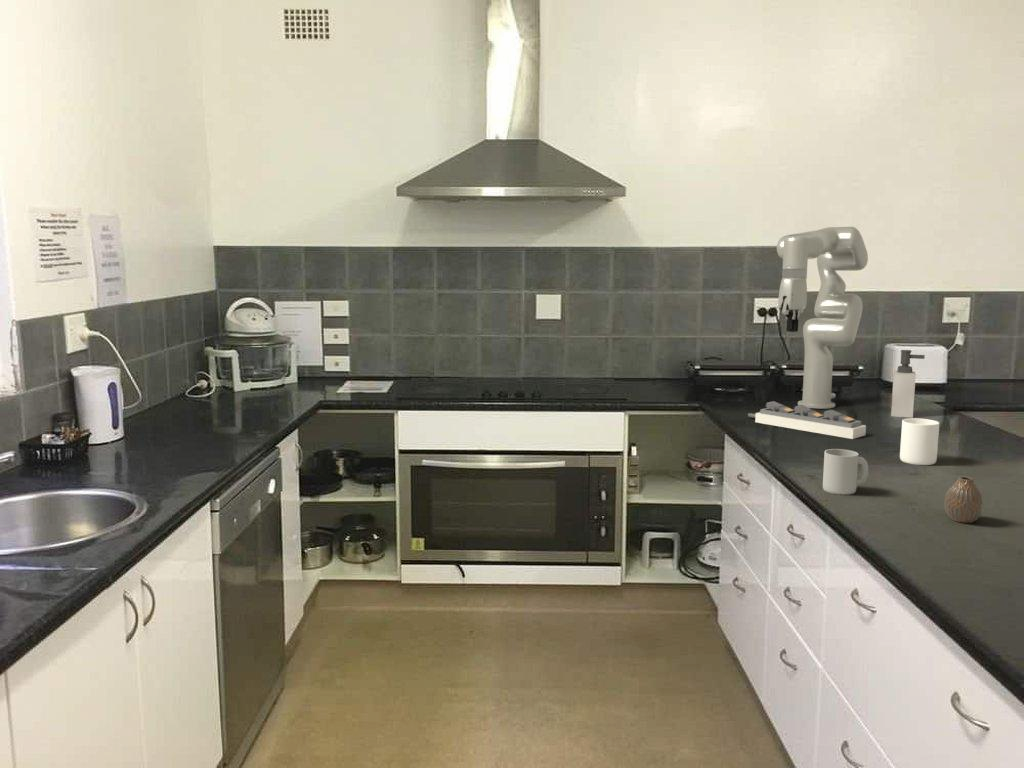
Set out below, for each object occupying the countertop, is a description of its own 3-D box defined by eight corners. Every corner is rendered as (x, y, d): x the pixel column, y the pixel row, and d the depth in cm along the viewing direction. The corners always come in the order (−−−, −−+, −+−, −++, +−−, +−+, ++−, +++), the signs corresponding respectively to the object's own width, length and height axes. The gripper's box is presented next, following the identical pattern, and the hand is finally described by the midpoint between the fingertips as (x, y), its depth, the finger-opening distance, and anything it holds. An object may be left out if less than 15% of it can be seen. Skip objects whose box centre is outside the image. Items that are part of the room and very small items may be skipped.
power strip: (755, 416, 268) (755, 404, 267) (865, 435, 239) (866, 421, 238) (742, 419, 263) (742, 407, 262) (852, 439, 234) (853, 424, 233)
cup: (817, 486, 186) (819, 449, 185) (860, 485, 186) (862, 448, 185) (829, 495, 179) (831, 456, 178) (874, 494, 179) (876, 456, 178)
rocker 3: (830, 414, 245) (831, 409, 244) (853, 424, 239) (855, 418, 239) (823, 416, 242) (824, 410, 242) (847, 426, 237) (848, 420, 236)
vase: (945, 523, 160) (949, 481, 158) (940, 513, 166) (944, 472, 165) (985, 527, 157) (988, 484, 156) (978, 516, 164) (982, 475, 162)
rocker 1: (772, 405, 260) (773, 400, 259) (793, 414, 254) (795, 409, 254) (765, 407, 258) (766, 402, 257) (786, 416, 252) (788, 411, 251)
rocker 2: (800, 409, 252) (802, 404, 252) (822, 420, 247) (824, 414, 246) (793, 410, 250) (795, 405, 249) (815, 421, 244) (817, 416, 244)
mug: (924, 454, 215) (927, 416, 213) (941, 466, 203) (944, 425, 201) (890, 454, 216) (893, 415, 214) (906, 465, 204) (908, 424, 202)
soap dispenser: (920, 418, 263) (925, 352, 260) (891, 416, 267) (895, 351, 263) (919, 414, 269) (924, 350, 265) (891, 412, 272) (895, 349, 269)
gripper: (796, 274, 264) (794, 329, 267) (771, 275, 255) (768, 332, 258) (817, 274, 258) (814, 330, 261) (792, 275, 249) (789, 333, 252)
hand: (792, 331), depth 260 cm, fingers closed
